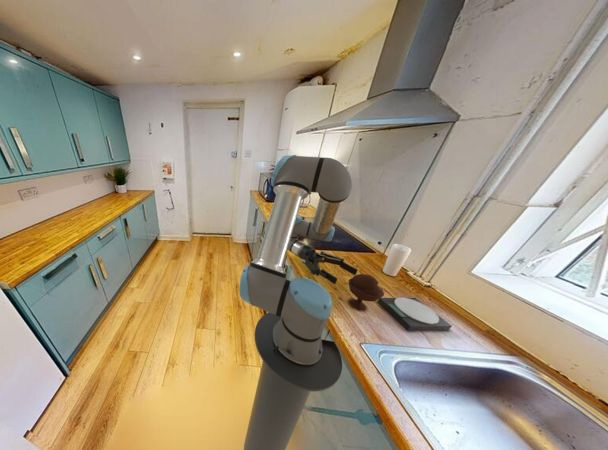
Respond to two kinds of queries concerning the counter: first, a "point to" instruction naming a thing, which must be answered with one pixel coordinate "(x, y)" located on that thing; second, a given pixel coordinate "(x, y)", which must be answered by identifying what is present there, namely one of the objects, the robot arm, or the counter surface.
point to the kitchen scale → (413, 314)
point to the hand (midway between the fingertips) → (346, 276)
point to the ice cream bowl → (364, 290)
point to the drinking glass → (396, 259)
